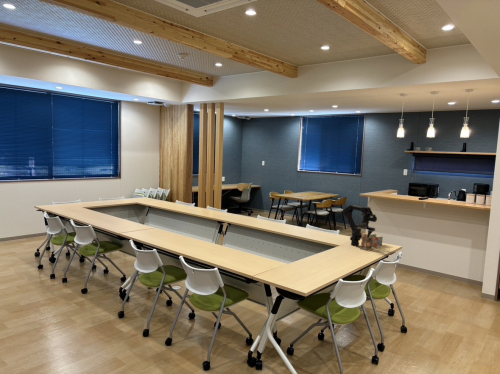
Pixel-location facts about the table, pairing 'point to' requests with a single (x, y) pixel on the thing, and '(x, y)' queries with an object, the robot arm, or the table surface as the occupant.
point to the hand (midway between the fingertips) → (363, 236)
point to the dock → (367, 249)
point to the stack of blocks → (374, 239)
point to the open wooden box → (366, 240)
